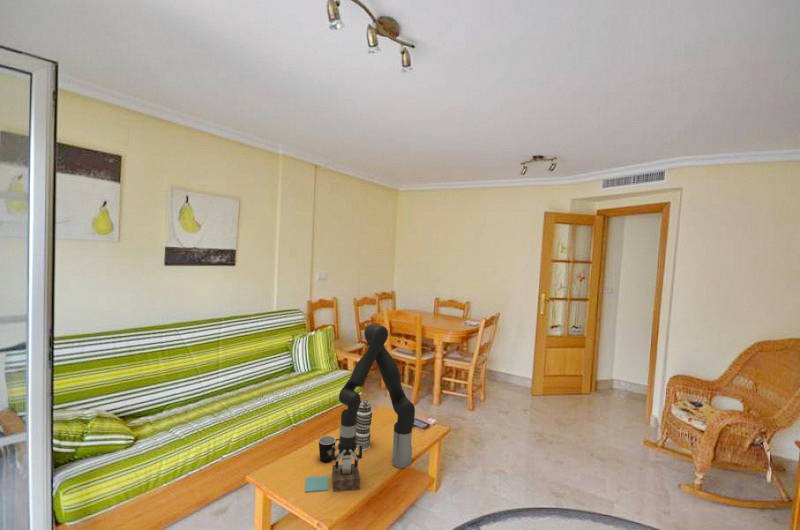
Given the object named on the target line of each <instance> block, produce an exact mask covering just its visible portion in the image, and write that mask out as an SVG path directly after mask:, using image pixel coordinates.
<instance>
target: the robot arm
mask: <svg viewBox="0 0 800 530" xmlns="http://www.w3.org/2000/svg"><path fill="white" fill-rule="evenodd" d="M388 338H389V331H388V329H387V327H386V326H384V325H381V324H380V325H379V324H369V325H366V327H365V329H364V339H365V341H366V343H367V345H368V348H367V350H366V352H365V353H364V354H363V355H362V357H360V359H359V360H358V362H356V365H355V366H354V368H353V370H352V373H351V375H350V378H349V379H348V380H347V381H346V382H345V384H344V385H343V386H342V388H341V389H340V392H339V396H338V401H339V403H341V404H343V405H345V406H347V408H345V409H343V410H342V412H341V414H340V415H341V416H340V427H339V438H338V439H339V440H338V442H339V443H338V444H339V445H336V444H335V445H333V446H332V461H334V465H335V468H337V469H338V465H340V463H339V460H340V459H342V456H343V455H344V456H346V455H351V457H353V458H354V460H353V461H354V462H353V464H354V468H356V466H358V467H359V460H361V459H362V458H363V451H362V444H361V443H360V444H359V445H356V415H357V412H358V409H359V406H360V402H361V401H362V400H361V395H360V393H359V392H357V391H355V389H357V388H362V387H363V386H364V384H365V381H366V379H367V377H368V375H369V373H370V370H371V369H372V366H373V364H374V362H376V366H377V367H378V371H379V374H380V376H381V378H382V381H383V383H384V386H385V388H386V389H387V392H388V395H389V397H390V400H391V404H392V409H393V411H394V413H395V414H396V415H397V421H396V422H395V423H394V426H393V440H392V441H393V442H392V457H391V461H392V462H391V463H392V466H394V468H395V467H396V468H398V469H406V468H409V467H410V466H412V455H413V446H412V436H413V434H412V433H413V428H414V424H415V415H416V414H415V413H416V411H415V410H416V408H415V405H414V403H413V402H412V401H411V400H410V399H408V397H407V395H406V393H405V392H404V389H403V386H402V379H401V378H402V376H401V372H400V369H399V366H398V364H397V362H396V360H395V359H394V357H393V356H392V355H391V353H390V352H389V351H388V350H387V348H386V347H385V344H386V342H387V340H388ZM356 448H358V454H357V453H356V450H357V449H356ZM337 450H338V452H337ZM336 452H337V455H335V453H336ZM332 461H331V462H332Z"/></svg>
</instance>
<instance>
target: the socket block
mask: <svg viewBox="0 0 800 530" xmlns="http://www.w3.org/2000/svg"><path fill="white" fill-rule="evenodd" d="M341 469H342V464H338V469H337V468H335V464H332V468H331V481H332V482H331V483H332V484H331V485H332V492H334V493H335V492H345V491H346V492H347V491H354V490H355V491H359V490H360V488H361V475H360V469H359V465H358V466H356V468H354V463H351V475H341Z"/></svg>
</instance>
